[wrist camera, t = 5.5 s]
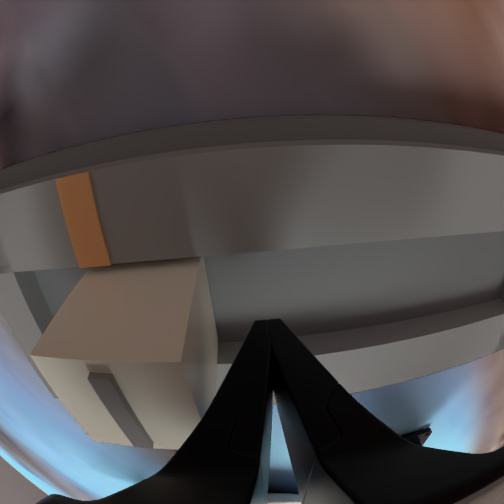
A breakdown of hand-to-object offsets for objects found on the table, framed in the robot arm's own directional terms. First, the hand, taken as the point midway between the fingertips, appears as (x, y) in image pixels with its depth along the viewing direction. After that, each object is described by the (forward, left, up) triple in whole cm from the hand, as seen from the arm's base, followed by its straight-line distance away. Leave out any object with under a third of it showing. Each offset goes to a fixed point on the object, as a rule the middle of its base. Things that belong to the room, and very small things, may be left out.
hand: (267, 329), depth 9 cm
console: (0, -2, -4) cm, 4 cm away
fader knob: (0, +4, -2) cm, 4 cm away
